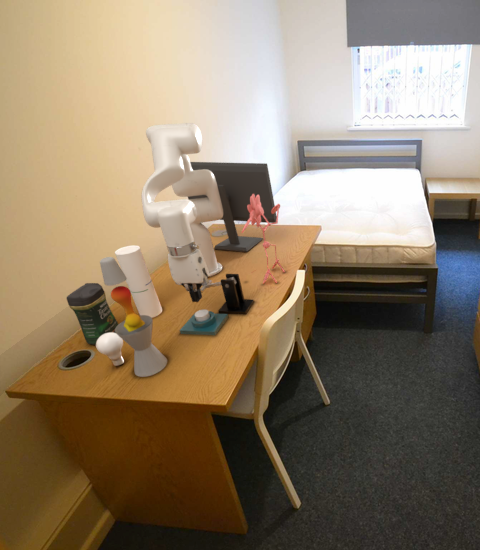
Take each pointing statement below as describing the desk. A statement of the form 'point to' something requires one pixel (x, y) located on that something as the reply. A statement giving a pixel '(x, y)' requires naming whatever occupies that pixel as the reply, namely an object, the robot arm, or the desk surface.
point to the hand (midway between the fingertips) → (197, 299)
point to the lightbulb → (111, 347)
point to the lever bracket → (234, 297)
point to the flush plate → (204, 325)
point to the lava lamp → (133, 323)
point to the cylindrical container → (139, 280)
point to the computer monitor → (239, 198)
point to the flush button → (202, 315)
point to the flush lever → (215, 284)
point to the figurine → (255, 217)
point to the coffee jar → (92, 311)
